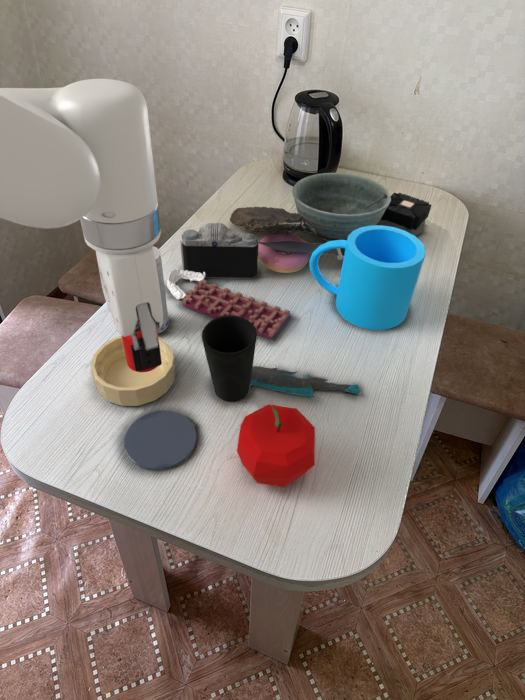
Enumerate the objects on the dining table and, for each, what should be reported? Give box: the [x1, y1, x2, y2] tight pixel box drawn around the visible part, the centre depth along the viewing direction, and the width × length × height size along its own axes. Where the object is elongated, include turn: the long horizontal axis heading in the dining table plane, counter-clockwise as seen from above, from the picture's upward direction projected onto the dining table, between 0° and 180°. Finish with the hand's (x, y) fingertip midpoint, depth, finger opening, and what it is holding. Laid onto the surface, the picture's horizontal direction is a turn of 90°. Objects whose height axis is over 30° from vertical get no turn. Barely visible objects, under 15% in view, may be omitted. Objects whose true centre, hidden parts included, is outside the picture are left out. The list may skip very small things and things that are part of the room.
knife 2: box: [250, 365, 362, 399], centre depth 80 cm, size 24×1×5 cm
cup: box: [201, 315, 258, 403], centre depth 74 cm, size 8×8×12 cm
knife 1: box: [258, 241, 345, 261], centre depth 101 cm, size 30×2×5 cm
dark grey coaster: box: [123, 409, 197, 471], centre depth 71 cm, size 10×10×1 cm
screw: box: [364, 194, 388, 209], centre depth 103 cm, size 8×1×1 cm, turn 137°
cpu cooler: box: [378, 192, 432, 237], centre depth 115 cm, size 10×6×10 cm
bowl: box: [291, 172, 391, 242], centre depth 110 cm, size 21×21×10 cm
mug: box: [308, 224, 426, 331], centre depth 91 cm, size 20×13×13 cm
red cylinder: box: [121, 329, 160, 372], centre depth 61 cm, size 4×4×6 cm
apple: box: [236, 399, 316, 488], centre depth 66 cm, size 11×11×10 cm
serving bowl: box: [90, 335, 176, 407], centre depth 78 cm, size 12×12×4 cm
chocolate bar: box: [182, 279, 291, 341], centre depth 92 cm, size 7×19×2 cm, turn 62°
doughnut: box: [258, 231, 311, 274], centre depth 103 cm, size 11×11×4 cm
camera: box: [179, 222, 259, 280], centre depth 98 cm, size 15×7×10 cm, turn 92°
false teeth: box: [166, 267, 206, 300], centre depth 96 cm, size 8×6×2 cm
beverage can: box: [153, 245, 170, 334], centre depth 83 cm, size 6×6×15 cm
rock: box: [229, 206, 316, 235], centre depth 104 cm, size 25×4×15 cm
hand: (142, 352), depth 62 cm, fingers closed on red cylinder, 4 cm apart
